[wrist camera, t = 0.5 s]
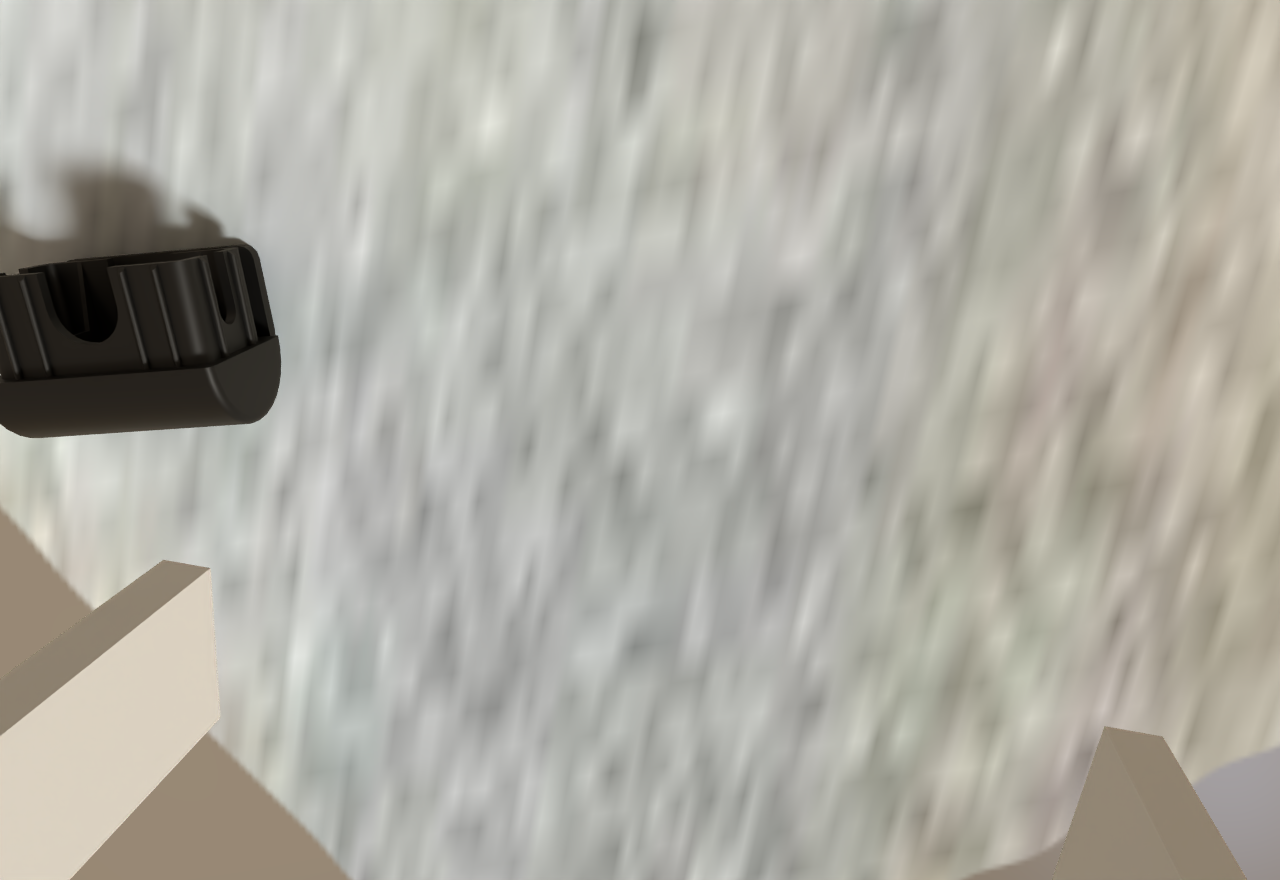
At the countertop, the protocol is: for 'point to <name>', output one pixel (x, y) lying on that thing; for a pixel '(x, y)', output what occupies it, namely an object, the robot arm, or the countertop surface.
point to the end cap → (137, 343)
